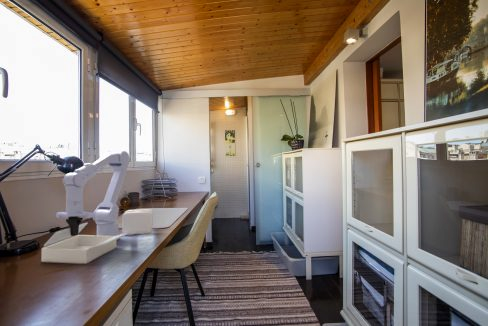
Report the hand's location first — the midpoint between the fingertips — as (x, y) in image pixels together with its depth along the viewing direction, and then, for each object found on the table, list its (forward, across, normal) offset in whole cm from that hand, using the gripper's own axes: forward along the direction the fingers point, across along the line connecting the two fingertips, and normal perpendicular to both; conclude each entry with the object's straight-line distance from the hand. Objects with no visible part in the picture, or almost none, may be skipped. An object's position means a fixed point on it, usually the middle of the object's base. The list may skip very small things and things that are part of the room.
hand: (74, 235), depth 100 cm
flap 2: (+1, +16, 0) cm, 16 cm away
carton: (+8, +3, 0) cm, 8 cm away
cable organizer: (+8, +8, +34) cm, 36 cm away
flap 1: (-1, -3, 0) cm, 3 cm away
